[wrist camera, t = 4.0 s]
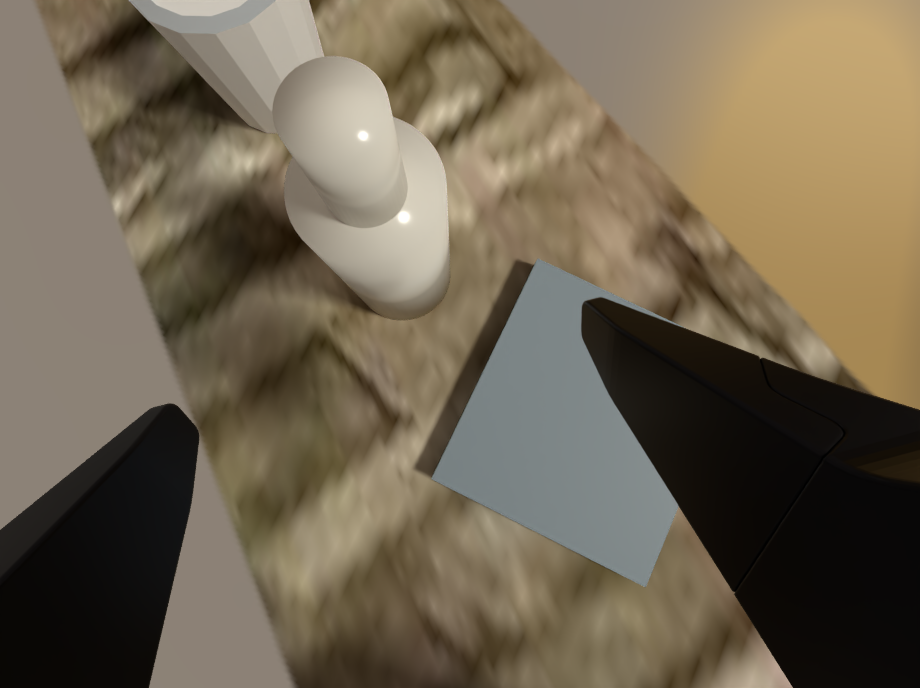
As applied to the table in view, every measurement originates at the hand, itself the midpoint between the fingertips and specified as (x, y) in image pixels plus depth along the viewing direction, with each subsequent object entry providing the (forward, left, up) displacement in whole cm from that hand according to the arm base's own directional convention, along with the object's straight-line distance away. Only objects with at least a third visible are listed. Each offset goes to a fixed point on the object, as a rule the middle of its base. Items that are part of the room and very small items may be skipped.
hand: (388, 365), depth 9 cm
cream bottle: (+5, +4, -12) cm, 13 cm away
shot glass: (+11, +15, -12) cm, 22 cm away
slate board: (+2, -8, -12) cm, 14 cm away
